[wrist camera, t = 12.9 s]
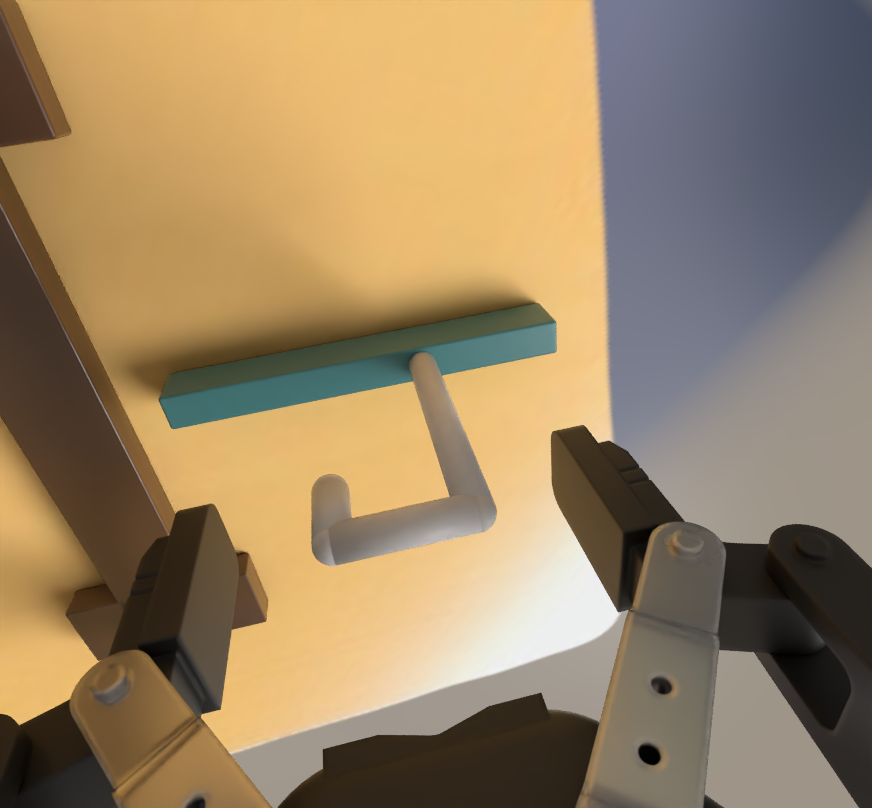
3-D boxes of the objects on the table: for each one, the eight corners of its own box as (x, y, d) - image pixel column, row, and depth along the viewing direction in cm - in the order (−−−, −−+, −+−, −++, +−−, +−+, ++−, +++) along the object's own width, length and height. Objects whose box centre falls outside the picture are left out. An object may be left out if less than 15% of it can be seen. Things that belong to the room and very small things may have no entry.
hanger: (182, 402, 20) (93, 635, 12) (169, 372, 19) (67, 596, 11) (540, 332, 21) (681, 500, 13) (539, 301, 21) (687, 458, 12)
